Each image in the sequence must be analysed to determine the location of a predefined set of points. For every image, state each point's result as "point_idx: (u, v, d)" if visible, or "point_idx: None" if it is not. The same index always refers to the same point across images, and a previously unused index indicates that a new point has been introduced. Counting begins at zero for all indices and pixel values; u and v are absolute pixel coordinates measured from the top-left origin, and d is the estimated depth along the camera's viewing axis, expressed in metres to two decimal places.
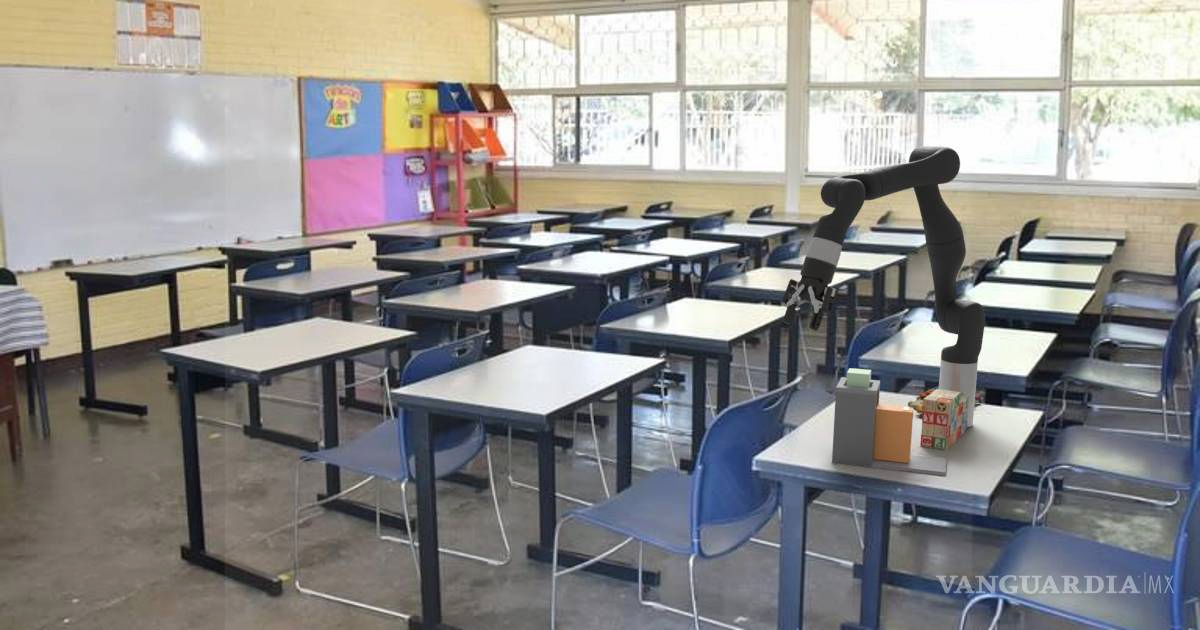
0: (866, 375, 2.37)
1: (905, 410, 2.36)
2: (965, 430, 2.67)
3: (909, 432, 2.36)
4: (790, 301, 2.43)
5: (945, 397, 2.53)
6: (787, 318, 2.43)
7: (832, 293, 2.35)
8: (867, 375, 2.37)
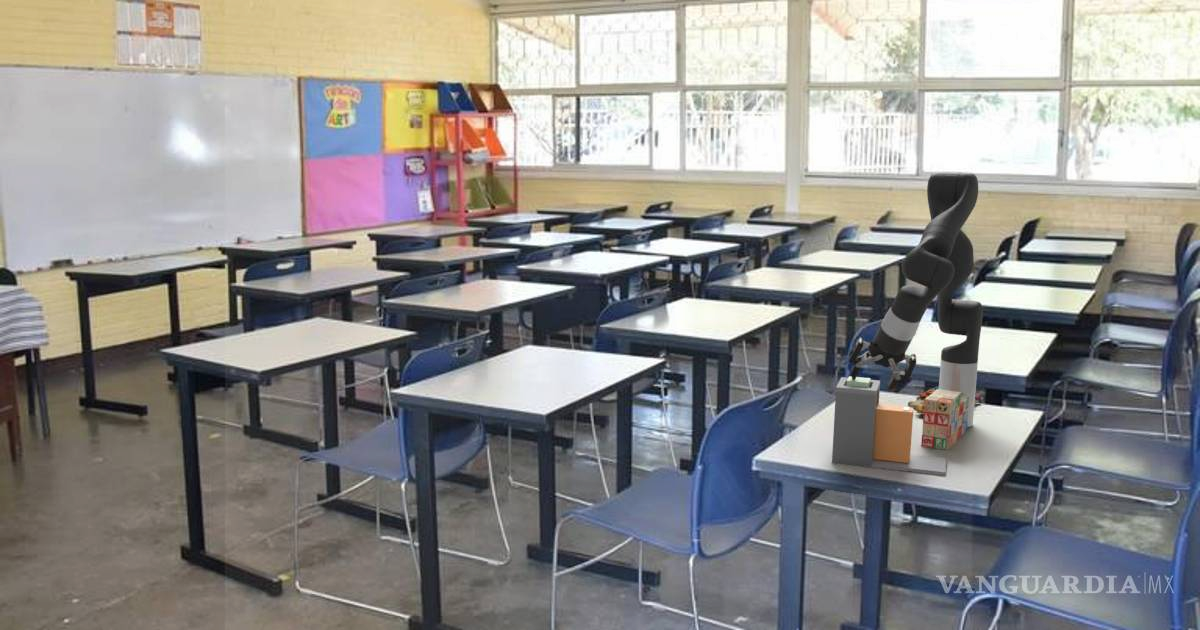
0: (865, 383, 2.37)
1: (905, 410, 2.36)
2: (965, 430, 2.67)
3: (909, 432, 2.36)
4: (860, 363, 2.36)
5: (946, 397, 2.53)
6: None
7: None
8: (866, 383, 2.37)
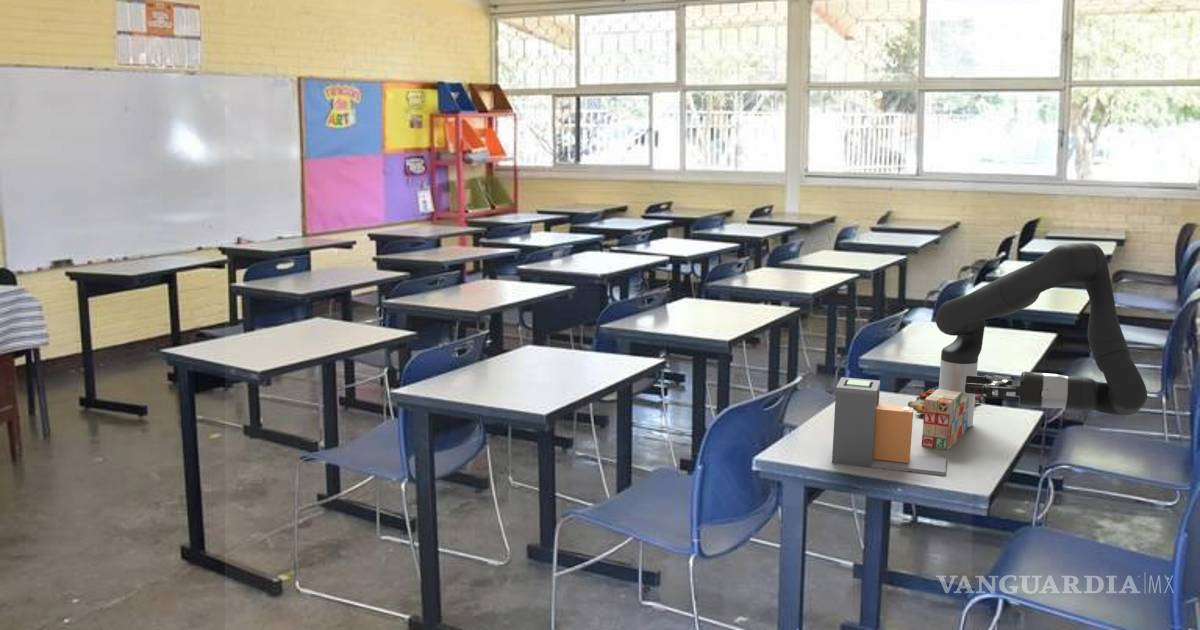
0: (865, 386, 2.37)
1: (905, 410, 2.36)
2: (965, 430, 2.67)
3: (909, 432, 2.36)
4: None
5: (946, 397, 2.53)
6: None
7: None
8: (866, 386, 2.37)
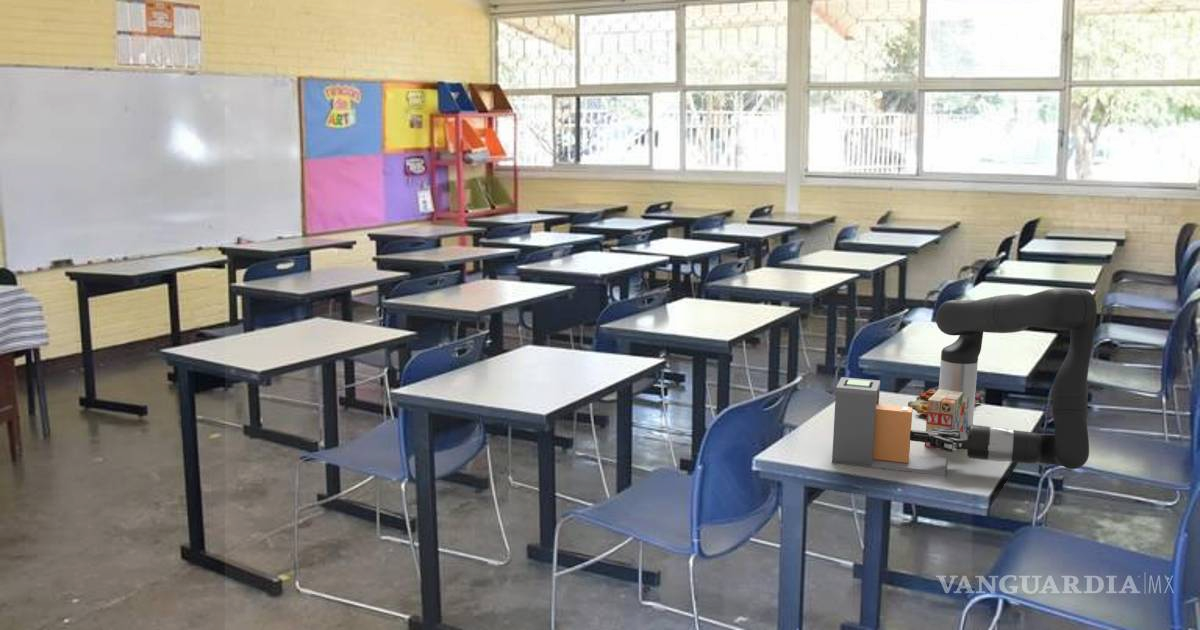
0: (865, 386, 2.37)
1: (904, 410, 2.36)
2: (966, 430, 2.67)
3: (908, 432, 2.36)
4: None
5: (949, 397, 2.53)
6: None
7: None
8: (866, 386, 2.37)
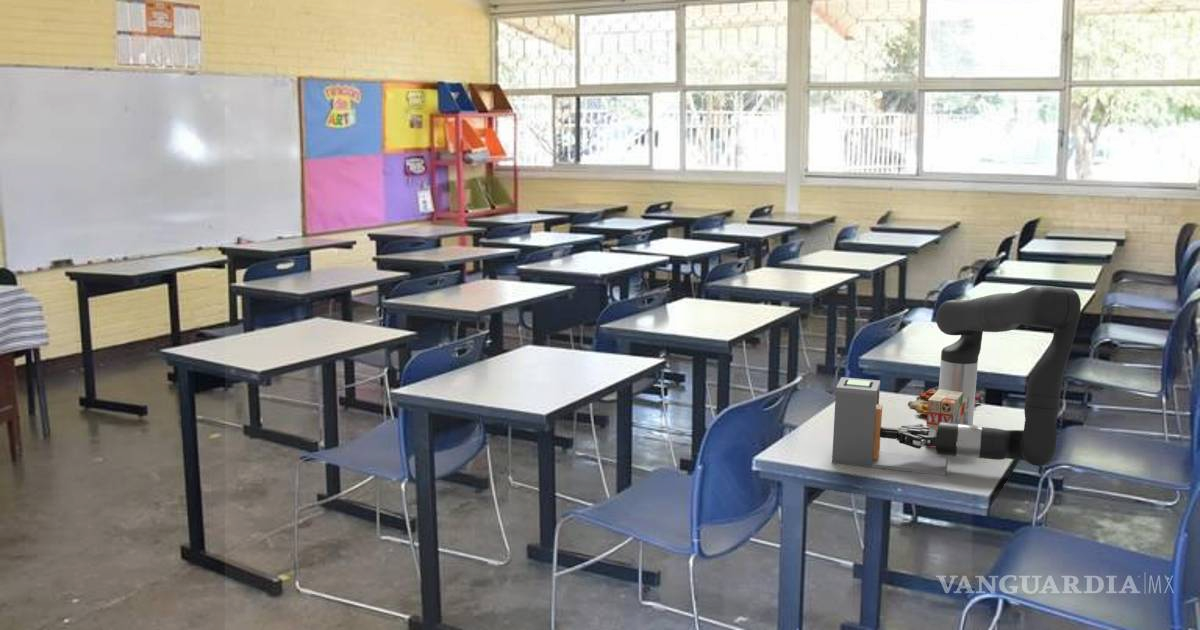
0: (865, 386, 2.37)
1: None
2: None
3: (878, 429, 2.38)
4: None
5: (949, 397, 2.53)
6: None
7: None
8: (866, 386, 2.37)
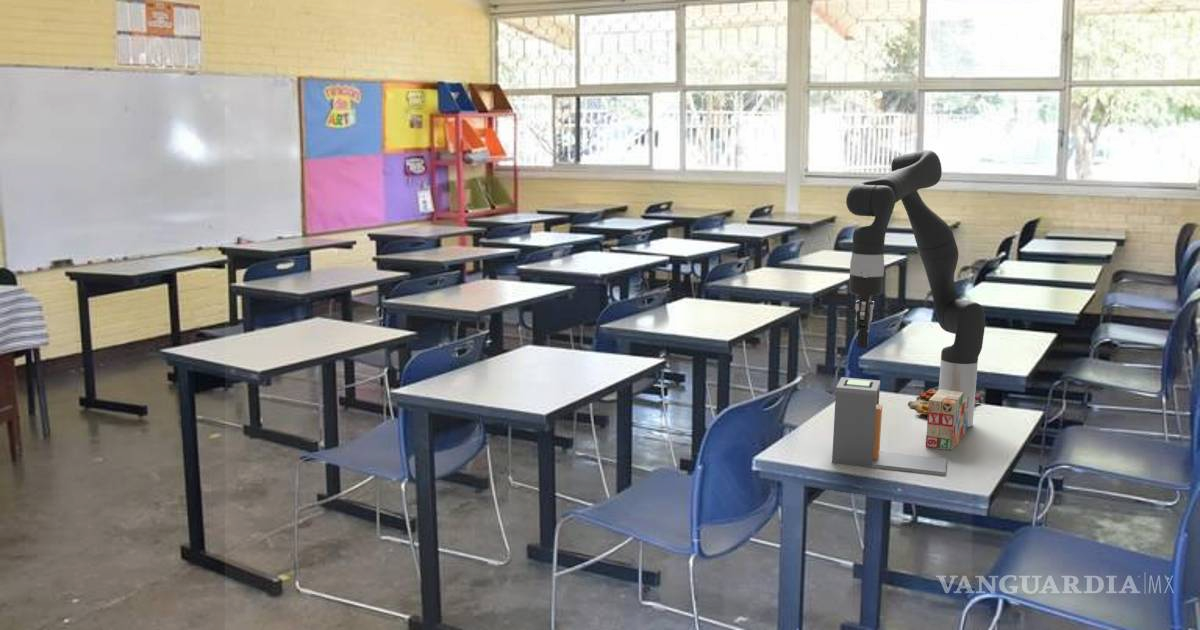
0: (865, 386, 2.37)
1: None
2: (966, 429, 2.67)
3: (878, 429, 2.38)
4: None
5: (950, 398, 2.52)
6: None
7: None
8: (866, 386, 2.37)
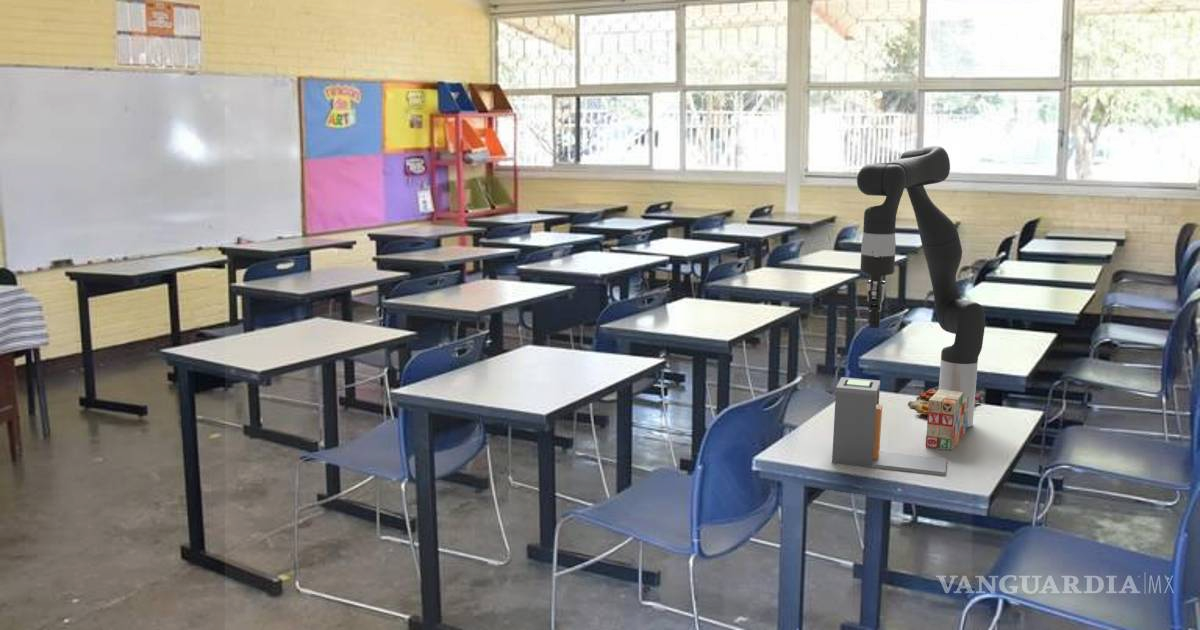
0: (865, 386, 2.37)
1: None
2: (965, 430, 2.67)
3: (878, 429, 2.38)
4: (880, 306, 2.36)
5: (950, 397, 2.52)
6: None
7: None
8: (866, 386, 2.37)
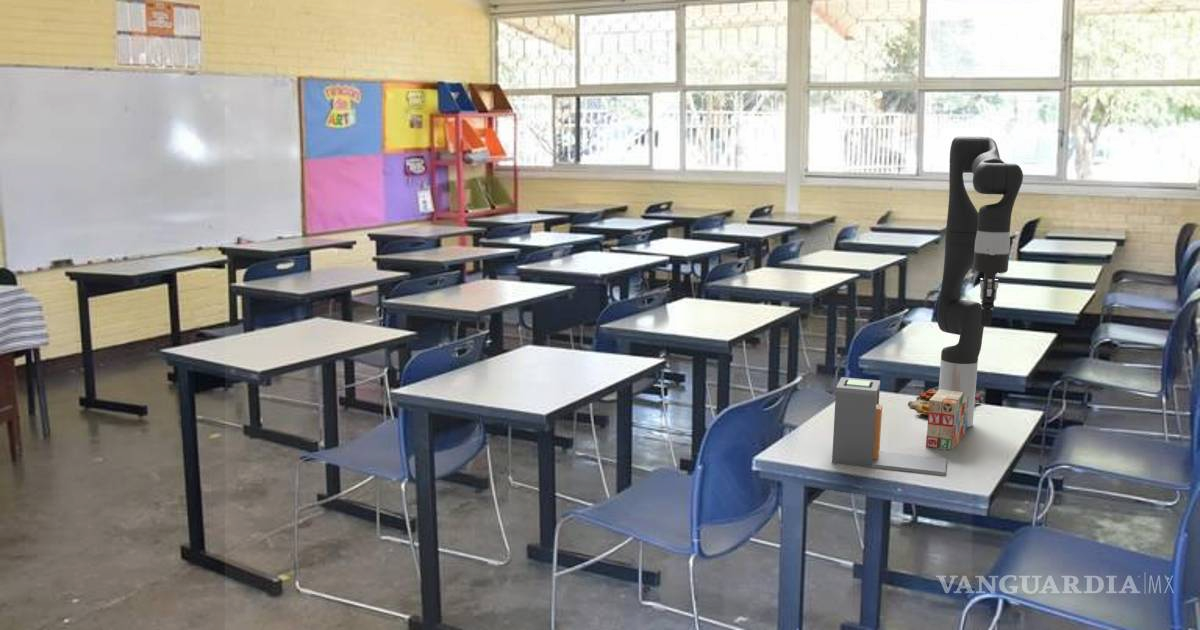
0: (865, 386, 2.37)
1: None
2: (965, 430, 2.67)
3: (878, 429, 2.38)
4: None
5: (950, 398, 2.52)
6: None
7: None
8: (866, 386, 2.37)
